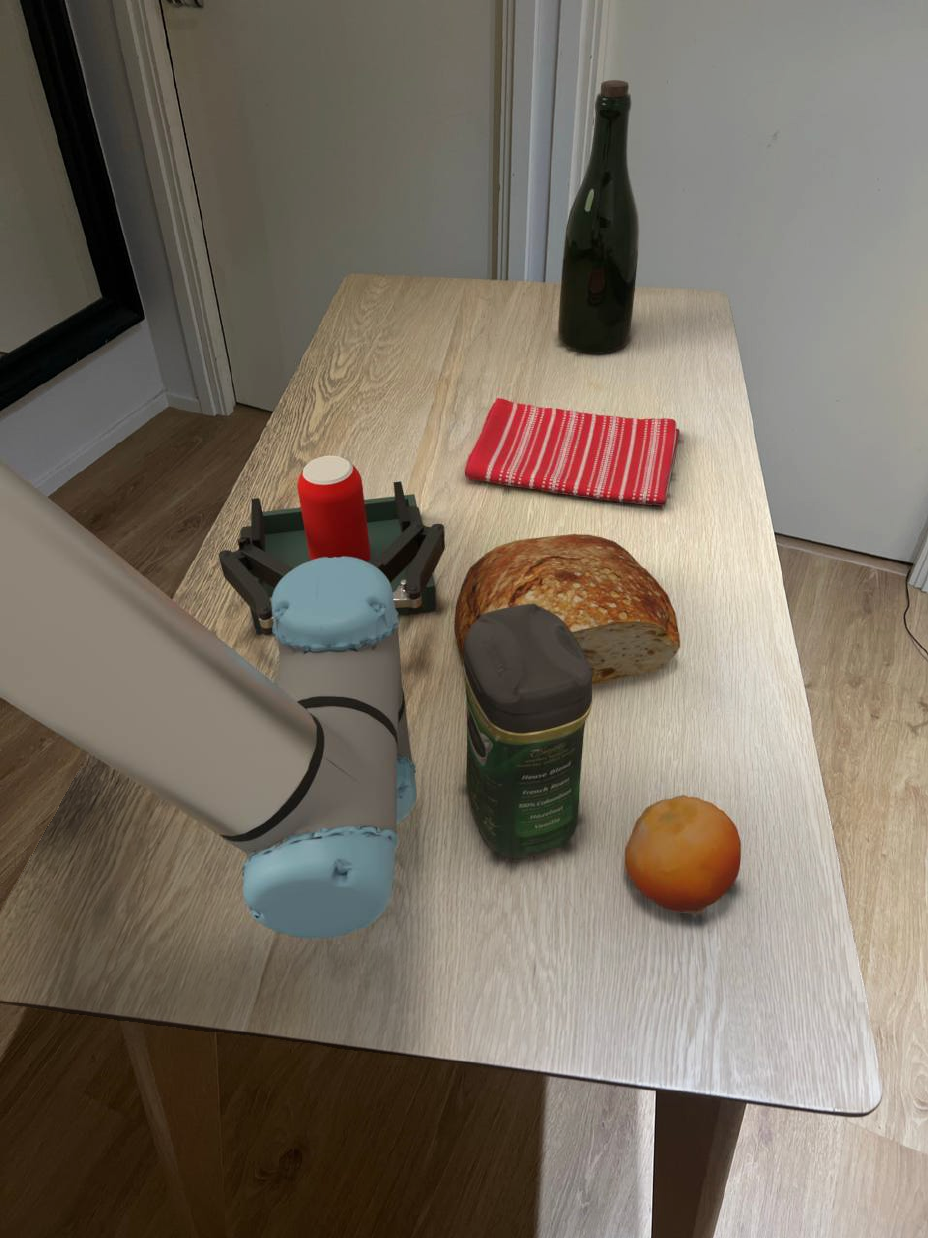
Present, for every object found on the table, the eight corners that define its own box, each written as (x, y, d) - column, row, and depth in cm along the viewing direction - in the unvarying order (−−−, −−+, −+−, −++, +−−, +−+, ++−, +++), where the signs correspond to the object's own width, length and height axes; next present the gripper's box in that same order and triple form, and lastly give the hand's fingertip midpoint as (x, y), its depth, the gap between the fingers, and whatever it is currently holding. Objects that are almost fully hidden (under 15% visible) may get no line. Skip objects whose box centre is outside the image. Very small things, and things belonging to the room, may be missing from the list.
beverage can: (382, 556, 93) (372, 458, 84) (352, 592, 89) (338, 492, 80) (332, 541, 95) (317, 444, 86) (300, 576, 91) (281, 477, 82)
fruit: (721, 957, 60) (683, 865, 57) (631, 924, 66) (593, 840, 63) (780, 877, 64) (747, 788, 61) (690, 853, 70) (656, 772, 67)
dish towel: (495, 411, 115) (495, 392, 114) (679, 434, 110) (683, 415, 109) (459, 484, 103) (458, 464, 102) (664, 513, 98) (667, 493, 97)
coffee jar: (591, 845, 68) (614, 678, 55) (493, 874, 66) (494, 709, 53) (545, 750, 75) (556, 582, 62) (455, 774, 73) (448, 607, 60)
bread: (470, 717, 77) (468, 635, 71) (441, 583, 91) (437, 503, 84) (695, 687, 79) (714, 604, 73) (635, 560, 93) (646, 480, 86)
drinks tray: (256, 634, 86) (250, 609, 83) (256, 537, 97) (250, 512, 95) (436, 611, 88) (435, 585, 85) (416, 518, 99) (414, 493, 97)
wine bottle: (632, 356, 126) (663, 91, 103) (558, 355, 126) (572, 92, 104) (626, 323, 133) (654, 71, 111) (556, 323, 134) (570, 71, 111)
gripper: (197, 708, 72) (206, 548, 87) (499, 664, 75) (456, 517, 90) (175, 642, 67) (188, 484, 82) (499, 598, 70) (454, 453, 85)
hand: (328, 501), depth 86 cm, fingers open, 13 cm apart
